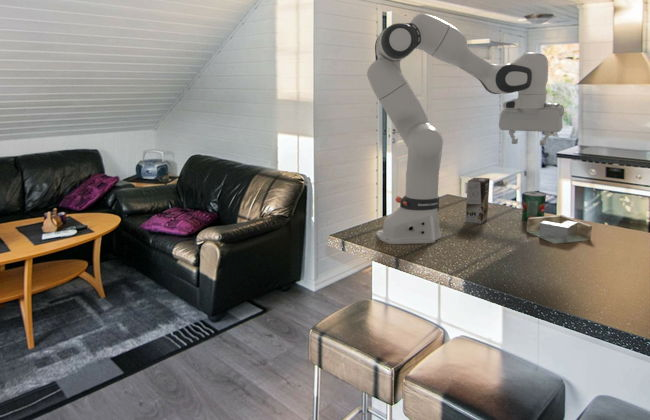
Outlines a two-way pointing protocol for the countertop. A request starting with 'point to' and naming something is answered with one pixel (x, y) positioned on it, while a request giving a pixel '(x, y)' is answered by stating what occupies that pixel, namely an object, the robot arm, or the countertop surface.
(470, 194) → the coffee box
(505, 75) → the robot arm
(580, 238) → the mat
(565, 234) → the bracket
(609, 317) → the countertop surface
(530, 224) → the walls
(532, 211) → the canned tomato
